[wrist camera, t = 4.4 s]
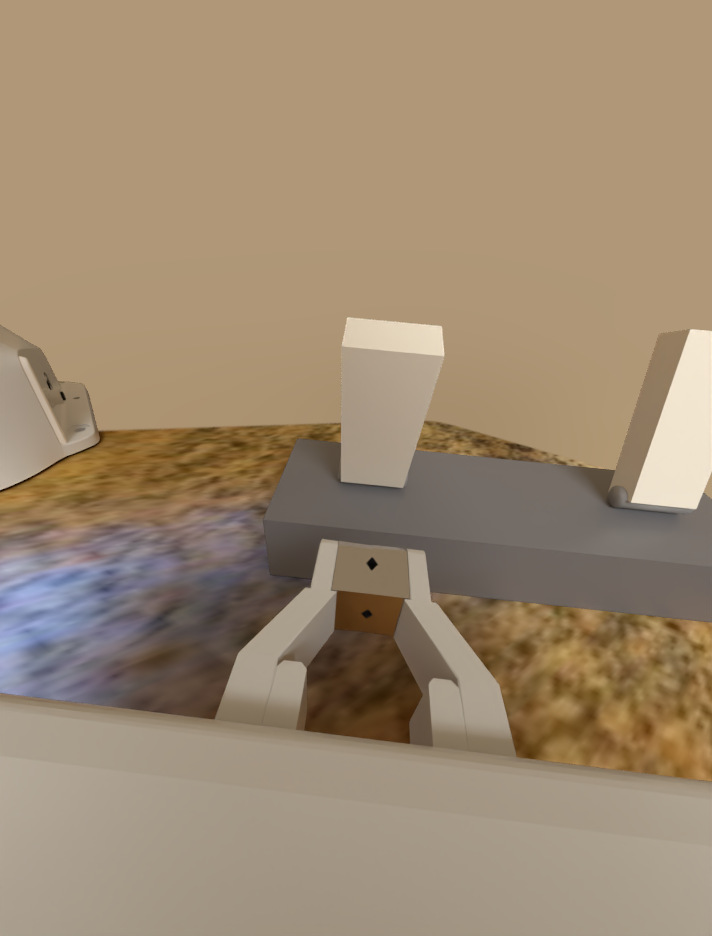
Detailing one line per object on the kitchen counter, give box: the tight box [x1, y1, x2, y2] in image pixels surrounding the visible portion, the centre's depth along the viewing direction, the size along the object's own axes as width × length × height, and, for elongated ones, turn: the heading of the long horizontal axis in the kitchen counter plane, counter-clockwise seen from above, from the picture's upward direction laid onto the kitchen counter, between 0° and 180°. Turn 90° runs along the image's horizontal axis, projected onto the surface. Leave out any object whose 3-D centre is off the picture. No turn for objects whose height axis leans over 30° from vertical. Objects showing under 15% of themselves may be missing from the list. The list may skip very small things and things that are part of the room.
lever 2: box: [608, 329, 712, 514], centre depth 20 cm, size 2×4×11 cm, turn 86°
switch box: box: [263, 439, 712, 622], centre depth 23 cm, size 9×30×5 cm, turn 86°
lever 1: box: [338, 318, 444, 488], centre depth 18 cm, size 2×4×11 cm, turn 85°
